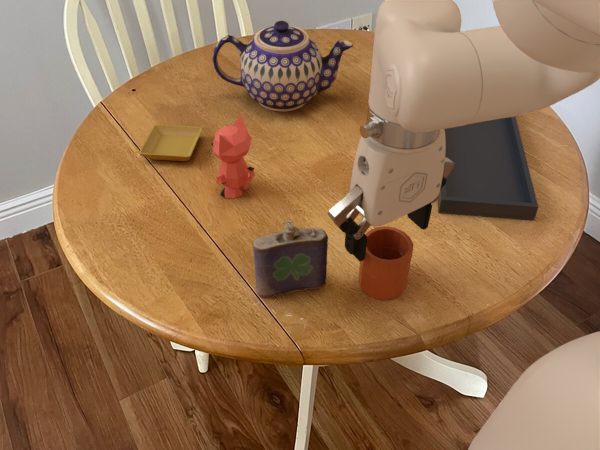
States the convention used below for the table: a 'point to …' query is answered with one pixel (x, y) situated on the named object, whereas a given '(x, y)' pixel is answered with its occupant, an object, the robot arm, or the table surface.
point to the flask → (290, 260)
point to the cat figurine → (233, 158)
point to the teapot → (283, 66)
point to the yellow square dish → (171, 142)
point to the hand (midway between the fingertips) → (386, 237)
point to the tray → (488, 172)
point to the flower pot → (386, 263)
